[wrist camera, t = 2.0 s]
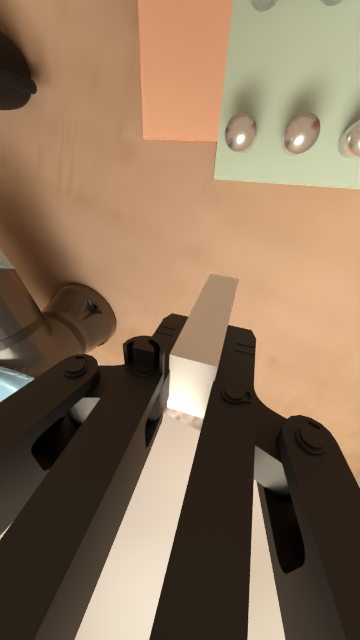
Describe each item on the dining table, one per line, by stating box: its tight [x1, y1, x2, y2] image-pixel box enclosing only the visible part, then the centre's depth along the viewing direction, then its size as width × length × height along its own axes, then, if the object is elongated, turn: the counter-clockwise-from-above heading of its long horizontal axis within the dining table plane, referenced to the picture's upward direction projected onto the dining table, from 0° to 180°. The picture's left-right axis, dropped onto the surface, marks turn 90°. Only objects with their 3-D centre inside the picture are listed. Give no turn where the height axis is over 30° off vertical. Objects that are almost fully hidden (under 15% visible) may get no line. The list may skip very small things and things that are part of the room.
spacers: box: [225, 0, 360, 158], centre depth 20 cm, size 21×14×4 cm
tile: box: [138, 0, 233, 142], centre depth 26 cm, size 10×12×1 cm
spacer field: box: [214, 0, 360, 189], centre depth 22 cm, size 24×20×1 cm
